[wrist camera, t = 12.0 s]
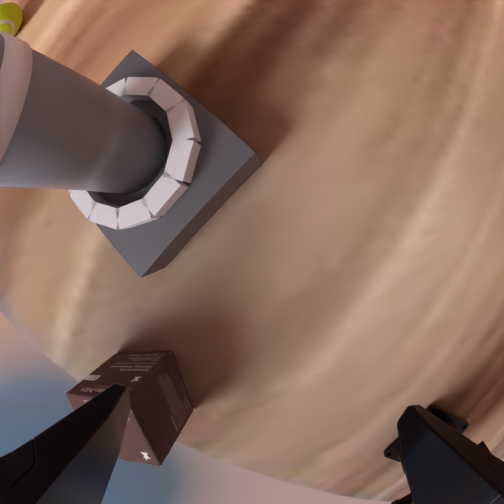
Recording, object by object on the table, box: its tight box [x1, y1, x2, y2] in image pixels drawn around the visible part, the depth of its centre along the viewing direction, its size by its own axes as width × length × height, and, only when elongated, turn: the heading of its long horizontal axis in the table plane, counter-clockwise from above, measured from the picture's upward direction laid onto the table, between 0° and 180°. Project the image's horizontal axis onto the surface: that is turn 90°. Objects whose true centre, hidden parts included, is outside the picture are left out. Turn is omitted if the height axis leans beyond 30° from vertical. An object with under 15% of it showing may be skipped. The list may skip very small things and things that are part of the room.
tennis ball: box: [0, 3, 23, 36], centre depth 17 cm, size 7×7×7 cm
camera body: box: [68, 50, 263, 278], centre depth 17 cm, size 12×10×5 cm
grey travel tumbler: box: [0, 31, 167, 194], centre depth 10 cm, size 5×5×14 cm
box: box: [66, 351, 193, 466], centre depth 19 cm, size 6×6×7 cm
